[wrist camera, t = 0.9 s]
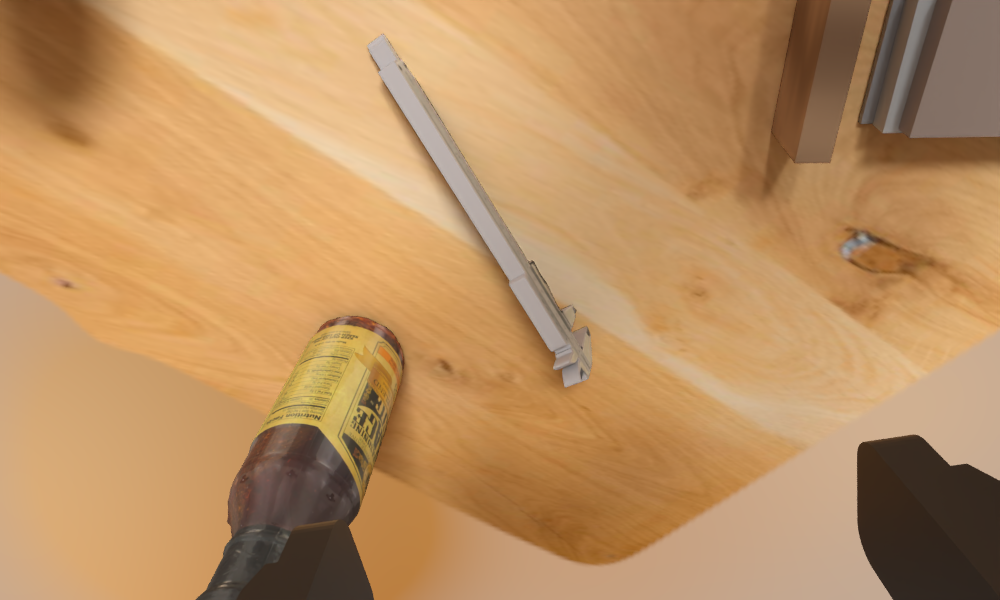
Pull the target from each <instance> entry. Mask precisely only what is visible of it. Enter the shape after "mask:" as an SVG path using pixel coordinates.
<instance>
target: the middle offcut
mask: <svg viewBox="0 0 1000 600" xmlns="http://www.w3.org/2000/svg"><path fill="white" fill-rule="evenodd" d="M936 1H937V0H905V2H904V6H903V10H902V14H901V17H900V21H899V25H898V29H897V33H896V37H895V41H894V44H893V48H892V52H891V56H890V60H889V64H888V68H887V71H886V75H885V79H884V83H883V87H882V91H881V95H880V98H879V102H878V106H877V110H876V114H875V118H874V121H873V125H874V126H875V127H876V128H877V129H878V130H879V131H880V132H882V133H903V132H902V131H900V130H899V129H898V128H899V125H900V121H901V118H902V115H903V111H904V108H905V105H906V101H907V98H908V95H909V91H910V88H911V84H912V81H913V78H914V74H915V71H916V68H917V64H918V61H919V58H920V54H921V51H922V48H923V44H924V41H925V38H926V34H927V31H928V28H929V24H930V21H931V18H932V14H933V11H934V8H935V4H936Z"/></svg>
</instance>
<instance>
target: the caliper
mask: <svg viewBox="0 0 1000 600" xmlns="http://www.w3.org/2000/svg"><path fill="white" fill-rule="evenodd" d="M367 47H368V48H369V52H370V54H371V55H372V57H373V58H374V60H375V62H376V63H377V65H378V66H379V68H380V71H379V72H378V73H379V75H380V76H381V78H382V79H383V81H384V83H385V84H386V86H387V87H388V89H389V91H390V92H391V94H392V95H393V97H394V98H395V100H396V102H397V103H398V105H399V106H400V108H401V110H402V111H403V113H404V114H405V116H406V118H407V119H408V121H409V122H410V124H411V125H412V127H413V129H414V130H415V132H416V133H417V135H418V137H419V138H420V140H421V141H422V143H423V145H424V146H425V148H426V149H427V151H428V152H429V154H430V156H431V157H432V159H433V160H434V162H435V164H436V165H437V167H438V168H439V170H440V171H441V173H442V175H443V176H444V178H445V179H446V181H447V183H448V184H449V186H450V187H451V189H452V190H453V192H454V194H455V195H456V197H457V198H458V200H459V202H460V203H461V205H462V206H463V208H464V209H465V211H466V213H467V214H468V216H469V217H470V219H471V221H472V222H473V224H474V225H475V227H476V228H477V230H478V232H479V233H480V235H481V236H482V238H483V239H484V241H485V243H486V244H487V246H488V247H489V249H490V251H491V252H492V254H493V255H494V257H495V258H496V260H497V262H498V263H499V265H500V266H501V268H502V270H503V271H504V273H505V274H506V276H507V277H508V279H509V286H510V287H511V289H512V291H513V292H514V294H515V295H516V297H517V299H518V300H519V302H520V303H521V305H522V307H523V308H524V310H525V311H526V313H527V315H528V316H529V318H530V319H531V321H532V323H533V324H534V326H535V327H536V329H537V331H538V332H539V334H540V335H541V337H542V339H543V340H544V342H545V343H546V345H547V347H548V348H549V350H550V351H551V352H553V351H554V352H555V354H556V355H555V356H556V361H555V363H554V366H553V369H554V370H559V369H562V368H563V370H562V375H563V382H564V386H565V388H566V387H568V386H571V385H575V384H577V383H580V382H582V381H584V380H587V379H589V375H590V371H591V367H592V348H591V335H590V332H589V330H588V328H587V326H586V327H583V328H581V329H579V330H577V331H575V332H573V333H572V332H571V328H572V327H573V324H574V320H575V313H576V310H575V308H574V307H573V305H570V306H568V307H565V308H563V309H561V310H560V309H559V307H558V305H557V304H556V302H555V300H554V297H553V295H552V293H551V291H550V289H549V287H548V285H547V283H546V281H545V280H544V279H543V277H542V276H541V274H540V273H539V271H538V269H537V267H536V265H535V263H534V262H533V261H532V260H531V261H529V262H528V260H527V259H526V257H525V256H524V254H523V252H522V251H521V249H520V247H519V246H518V244H517V243H516V241H515V239H514V238H513V236H512V234H511V233H510V231H509V230H508V228H507V226H506V225H505V223H504V221H503V220H502V218H501V217H500V215H499V213H498V212H497V210H496V209H495V207H494V205H493V204H492V202H491V200H490V199H489V197H488V196H487V194H486V192H485V191H484V189H483V187H482V186H481V184H480V183H479V181H478V179H477V178H476V176H475V175H474V173H473V171H472V170H471V168H470V166H469V165H468V163H467V161H466V160H465V158H464V157H463V155H462V153H461V152H460V150H459V148H458V147H457V145H456V144H455V142H454V140H453V139H452V137H451V135H450V134H449V132H448V130H447V129H446V127H445V126H444V124H443V122H442V121H441V119H440V117H439V116H438V114H437V113H436V111H435V109H434V108H433V106H432V104H431V103H430V101H429V99H428V98H427V96H426V95H425V93H424V91H423V90H422V88H421V86H420V85H419V83H418V82H417V81H416V79H415V78H414V76H413V75H412V73H411V72H410V70H409V69H408V68H407V66H406V65H405V63H404V62H403V60H402V59H400V58H399V57H398V55H397V54H396V52H395V50H394V49H393V47H392V45H391V44H390V42H389V41H388V39H387V38H386V36H385V35H384V34H382V35H380V36H379V37H378V38H376V39H375V40H374V41H372V42H371V43H369V44H368V45H367Z"/></svg>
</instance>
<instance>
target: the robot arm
mask: <svg viewBox="0 0 1000 600" xmlns="http://www.w3.org/2000/svg"><path fill="white" fill-rule="evenodd" d="M857 491H858V492H857V502H858V503H857V505H858V506H857V513H858V530H859V535H860V539H861V543H862V546H863V549H864V551H865V554H866V556H867V559H868V561H869V562H870V564H871V566H872V568H873V570H874V571H875V573H876V574H877V576H878V577H879V579H880V580H881V582H882V583H883V585H884V586H885V588H886V589H887V591H888V592H889V594H890V595H891V597H892V599H893V600H1000V481H999V480H997V479H995V478H993V477H991V476H990V475H988V474H985V473H984V472H982V471H980V470H978V469H976V468H974V467H972V466H970V465H968V464H961V465H955V466H950V465H949V464H948V463H947V462H946V461H945V460H944V459H943V458H942V457H941V456H940V455H939V454H938V453H937V452H936V451H935V450H934V449H933V448H932V447H931V446H930V445H929V444H928V443H927V442H926V441H925V440H924V439H923V438H922V437H920V436H918V435H908V436H902V437H894V438H888V439H881V440H874V441H868V442H863V443H861V444H860V445H859V447H858V452H857ZM236 600H374V598H373V593H372V589H371V586H370V583H369V581H368V578H367V575H366V572H365V570H364V567H363V564H362V561H361V559H360V556H359V553H358V551H357V548H356V545H355V543H354V540H353V537H352V534H351V531H350V529H349V527H348V525H347V523H346V522H345V521H344V520H341V519H340V520H333V521H327V522H320V523H313V524H307V525H300V526H296V527H295V528H294V529H293V530H292V532H291V534H290V536H289V538H288V540H287V542H286V544H285V547H284V549H283V551H282V553H281V555H280V558H279V560H278V562H275V563H268V564H265V565H264V566H263V567H262V568H261V569H260V570H259V572H258V573H257V574H256V575H255V576H254V577H253V578H252V579H251V580H250V581H249V582H248V584H247V585H246V586H245V587H244V588H243V589H242V590H241V591H240V593H239V595H238V597H237V599H236Z"/></svg>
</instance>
